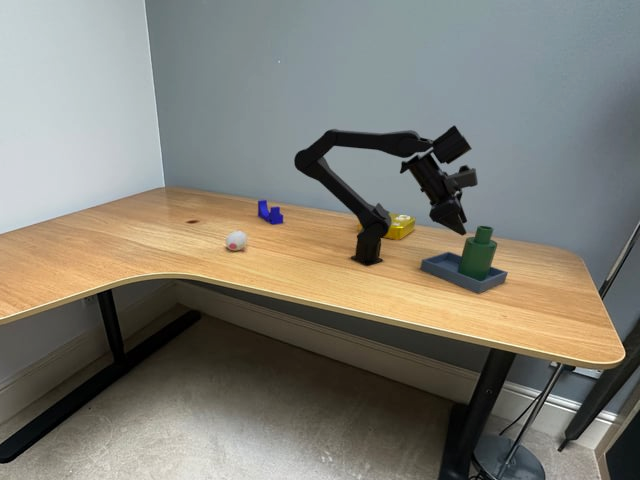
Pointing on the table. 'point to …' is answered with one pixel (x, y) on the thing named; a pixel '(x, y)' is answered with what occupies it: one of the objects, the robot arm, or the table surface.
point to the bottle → (478, 254)
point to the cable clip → (271, 217)
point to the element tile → (399, 226)
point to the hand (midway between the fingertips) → (464, 228)
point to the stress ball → (236, 240)
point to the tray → (447, 270)
